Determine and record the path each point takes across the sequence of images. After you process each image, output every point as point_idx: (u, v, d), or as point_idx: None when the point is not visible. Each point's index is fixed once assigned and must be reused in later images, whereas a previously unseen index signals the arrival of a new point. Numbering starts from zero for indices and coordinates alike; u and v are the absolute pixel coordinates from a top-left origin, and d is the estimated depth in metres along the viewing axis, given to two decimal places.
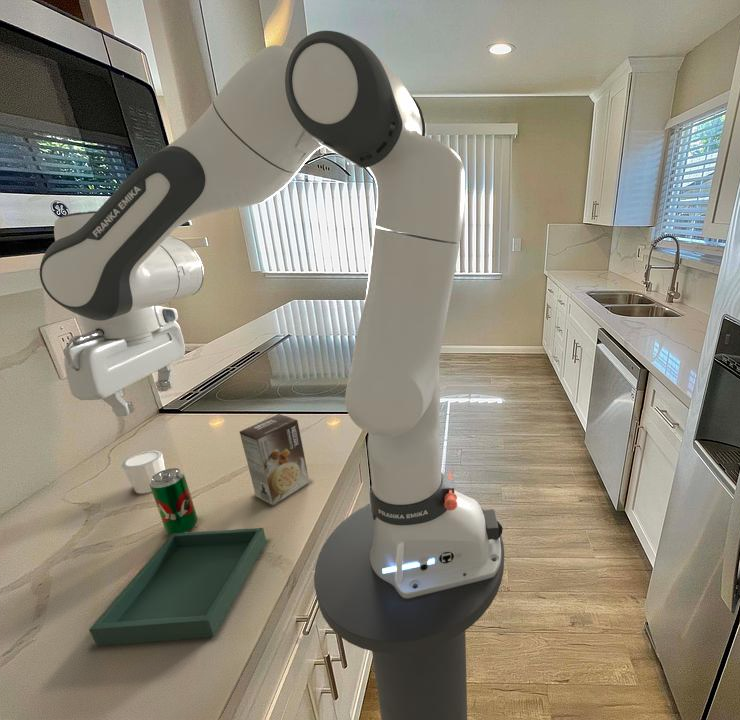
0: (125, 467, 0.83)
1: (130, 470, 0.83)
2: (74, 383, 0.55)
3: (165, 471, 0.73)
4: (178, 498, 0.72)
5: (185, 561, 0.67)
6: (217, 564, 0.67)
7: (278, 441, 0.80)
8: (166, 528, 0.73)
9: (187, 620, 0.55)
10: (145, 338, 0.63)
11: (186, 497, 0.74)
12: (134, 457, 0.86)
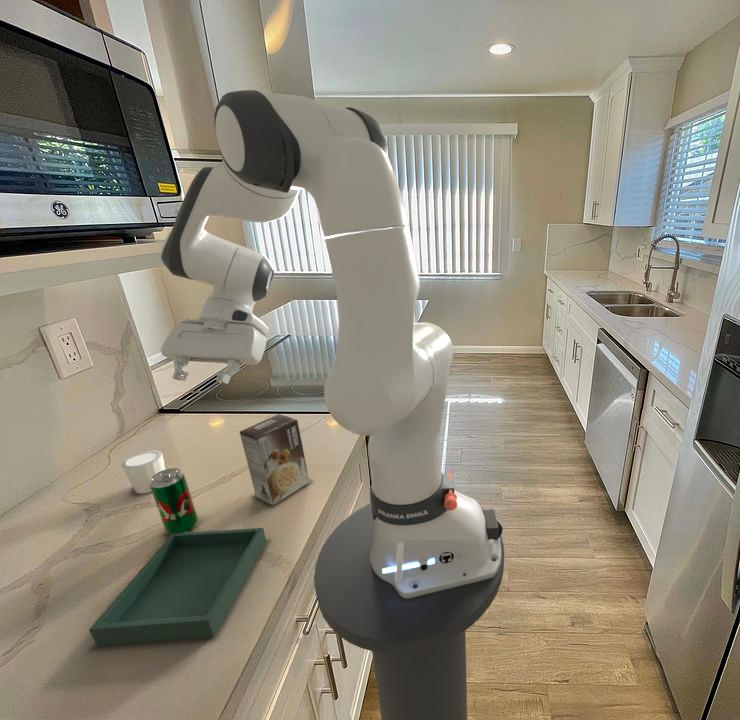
0: (125, 467, 0.83)
1: (130, 470, 0.83)
2: None
3: (165, 471, 0.73)
4: (178, 498, 0.72)
5: (185, 561, 0.67)
6: (217, 564, 0.67)
7: (278, 441, 0.80)
8: (166, 528, 0.73)
9: (187, 620, 0.55)
10: (208, 324, 0.80)
11: (186, 497, 0.74)
12: (134, 457, 0.86)
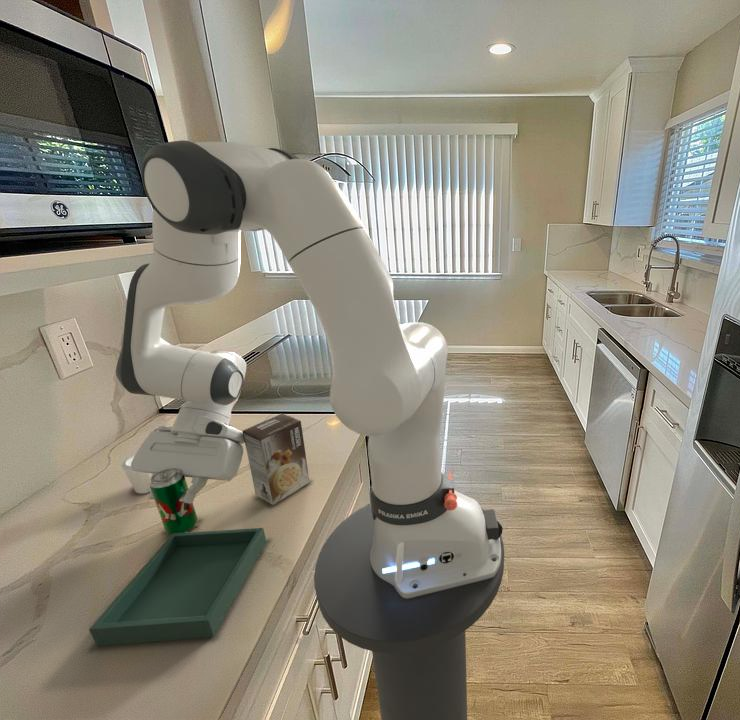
0: (125, 467, 0.83)
1: (130, 470, 0.83)
2: None
3: (165, 471, 0.73)
4: (177, 498, 0.72)
5: (185, 561, 0.67)
6: (217, 564, 0.67)
7: (281, 442, 0.80)
8: (166, 528, 0.73)
9: (187, 620, 0.55)
10: (180, 438, 0.75)
11: None
12: None
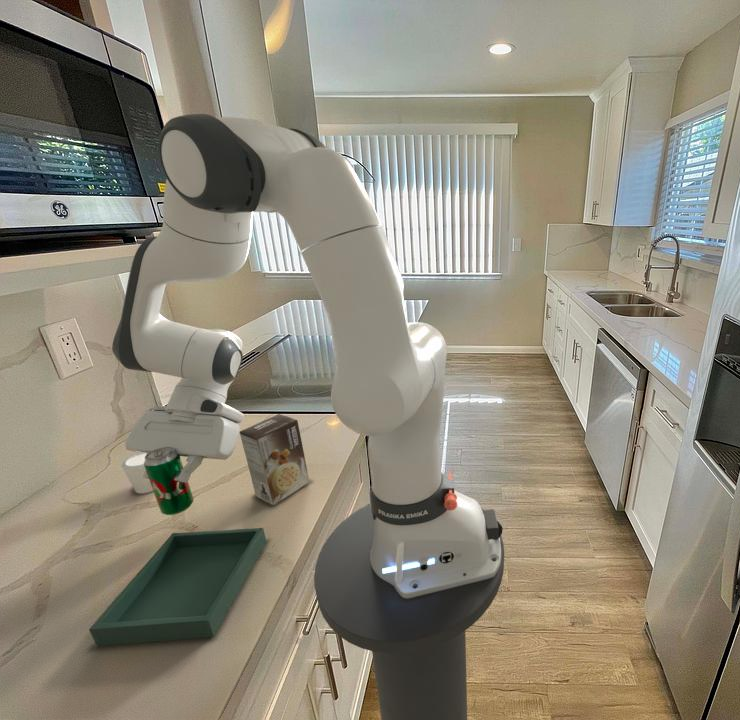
0: (125, 467, 0.83)
1: (130, 470, 0.83)
2: None
3: (159, 450, 0.72)
4: (172, 476, 0.71)
5: (185, 561, 0.67)
6: (217, 564, 0.67)
7: (279, 441, 0.80)
8: (161, 508, 0.72)
9: (187, 620, 0.55)
10: (175, 416, 0.74)
11: None
12: (134, 457, 0.86)
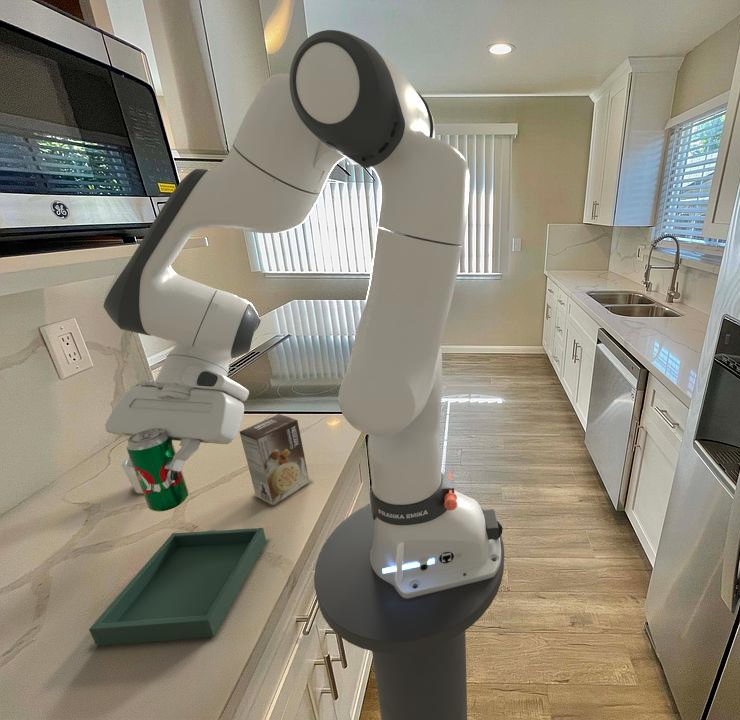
0: (125, 467, 0.83)
1: (130, 470, 0.83)
2: None
3: (146, 431, 0.59)
4: (162, 464, 0.57)
5: (185, 561, 0.67)
6: (217, 564, 0.67)
7: (279, 441, 0.80)
8: (148, 503, 0.59)
9: (187, 620, 0.55)
10: (166, 391, 0.61)
11: None
12: None
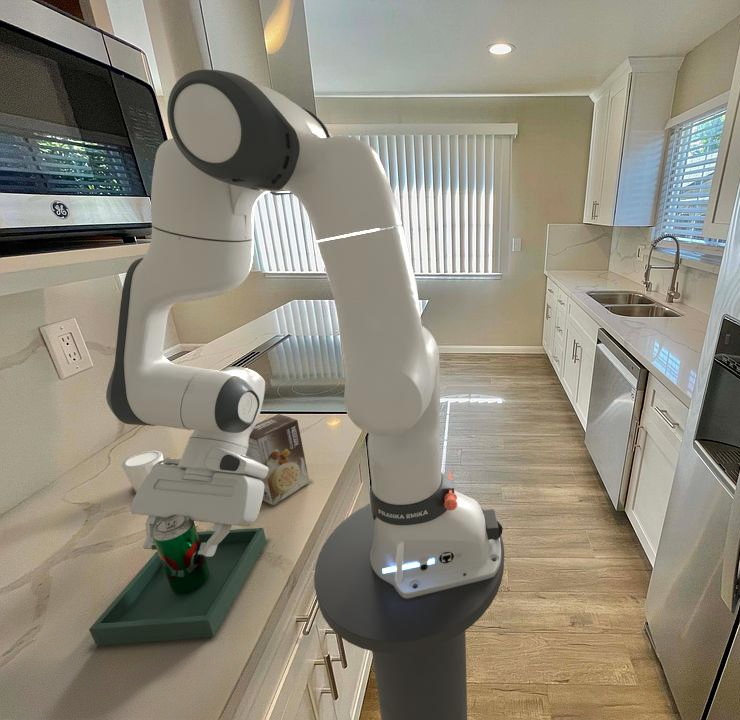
0: (125, 467, 0.83)
1: (130, 470, 0.83)
2: None
3: (171, 518, 0.61)
4: (186, 551, 0.60)
5: None
6: (217, 564, 0.67)
7: (279, 441, 0.80)
8: (172, 586, 0.61)
9: (187, 620, 0.55)
10: (189, 474, 0.62)
11: (196, 549, 0.61)
12: (134, 457, 0.86)
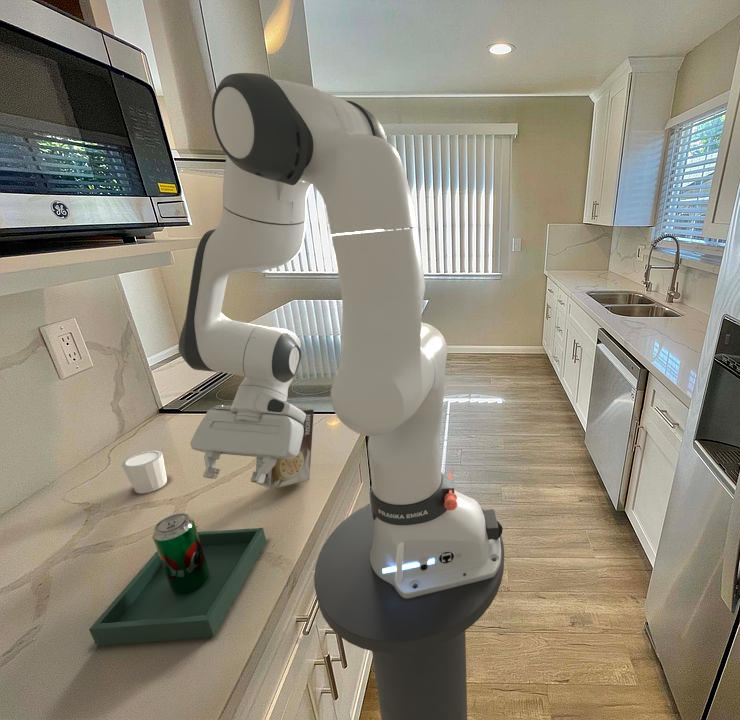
0: (125, 467, 0.83)
1: (130, 470, 0.83)
2: None
3: (171, 518, 0.61)
4: (186, 550, 0.60)
5: None
6: (217, 564, 0.67)
7: None
8: (172, 586, 0.61)
9: (187, 620, 0.55)
10: (241, 415, 0.73)
11: (196, 549, 0.61)
12: (134, 457, 0.86)
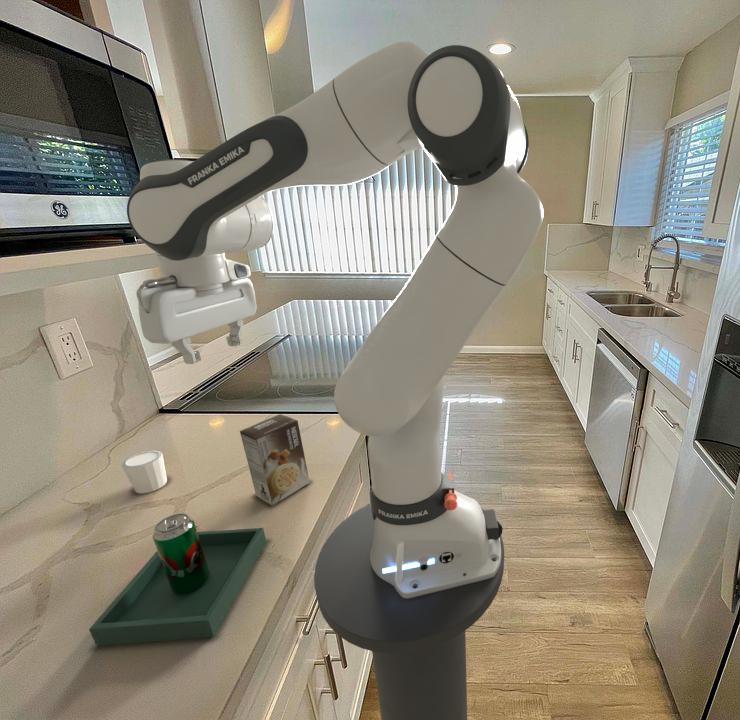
0: (125, 467, 0.83)
1: (130, 470, 0.83)
2: (145, 325, 0.57)
3: (171, 518, 0.61)
4: (186, 550, 0.60)
5: None
6: (217, 564, 0.67)
7: (278, 442, 0.80)
8: (172, 586, 0.61)
9: (187, 620, 0.55)
10: (215, 289, 0.64)
11: (196, 549, 0.61)
12: (134, 457, 0.86)
